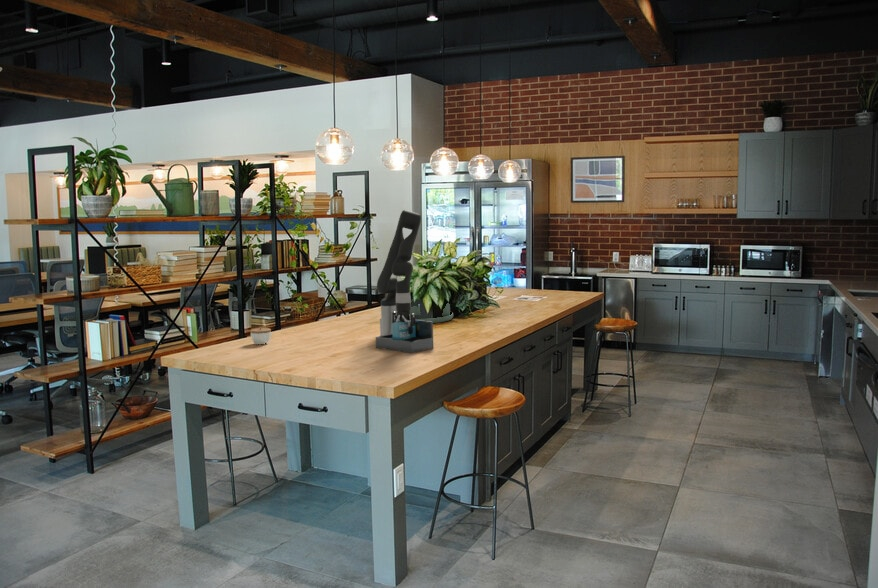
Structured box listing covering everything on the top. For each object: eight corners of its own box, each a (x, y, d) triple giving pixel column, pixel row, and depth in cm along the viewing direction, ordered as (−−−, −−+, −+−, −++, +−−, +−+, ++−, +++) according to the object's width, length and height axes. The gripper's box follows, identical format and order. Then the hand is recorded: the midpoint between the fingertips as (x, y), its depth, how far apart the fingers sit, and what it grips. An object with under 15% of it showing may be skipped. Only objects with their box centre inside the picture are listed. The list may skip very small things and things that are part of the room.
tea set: (440, 313, 476) (440, 289, 474) (461, 321, 438) (461, 295, 436) (384, 317, 463) (383, 293, 461) (400, 326, 425) (399, 299, 423)
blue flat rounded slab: (398, 347, 350) (397, 323, 349) (392, 346, 353) (391, 322, 352) (416, 343, 358) (415, 320, 357) (410, 342, 362) (409, 319, 360)
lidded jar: (266, 345, 370) (265, 328, 369) (247, 345, 372) (246, 328, 371) (274, 342, 381) (274, 325, 380) (256, 341, 383) (255, 324, 382)
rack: (376, 347, 358) (375, 321, 356) (397, 342, 370) (397, 317, 368) (412, 353, 342) (411, 326, 340) (433, 348, 354) (432, 321, 352)
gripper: (388, 301, 355) (389, 332, 357) (408, 303, 346) (409, 335, 347) (398, 299, 360) (399, 330, 362) (418, 301, 351) (419, 333, 353)
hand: (404, 333), depth 355 cm, fingers open, 8 cm apart
